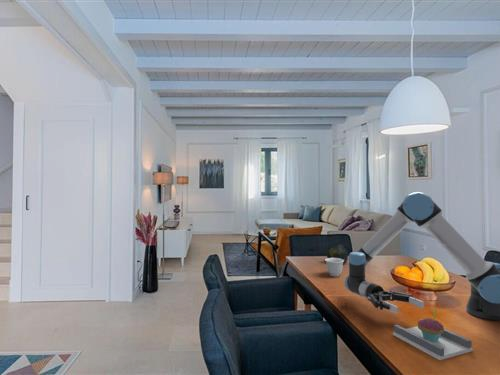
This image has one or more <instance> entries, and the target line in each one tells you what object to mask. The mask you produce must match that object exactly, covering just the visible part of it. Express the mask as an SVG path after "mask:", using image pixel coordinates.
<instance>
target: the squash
mask: <svg viewBox="0 0 500 375" xmlns="http://www.w3.org/2000/svg"><path fill="white" fill-rule="evenodd" d="M327 258H340V259H343V260H344V262H343V265H344V264H346V263H347V261H348V260H349V254H348V252H347V250H346V248H345V247H344V245H343V244H337V245H334V246H332V247H330V248H329V249H328V252H327V254H326V259H327Z"/></svg>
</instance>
